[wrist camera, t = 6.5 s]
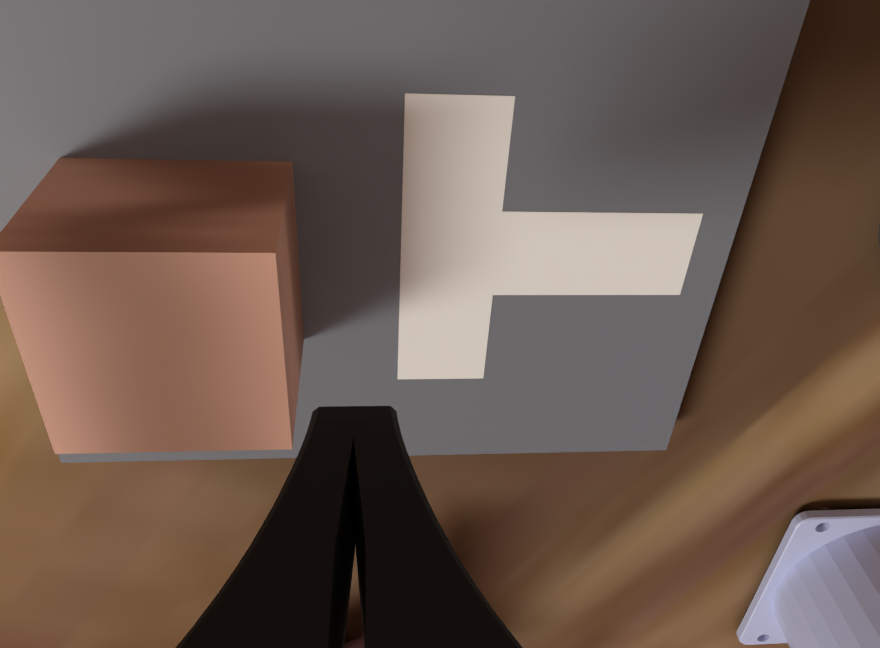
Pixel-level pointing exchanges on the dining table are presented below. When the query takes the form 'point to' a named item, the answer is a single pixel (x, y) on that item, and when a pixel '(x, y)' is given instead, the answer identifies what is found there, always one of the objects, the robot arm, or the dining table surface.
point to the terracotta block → (158, 304)
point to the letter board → (444, 185)
